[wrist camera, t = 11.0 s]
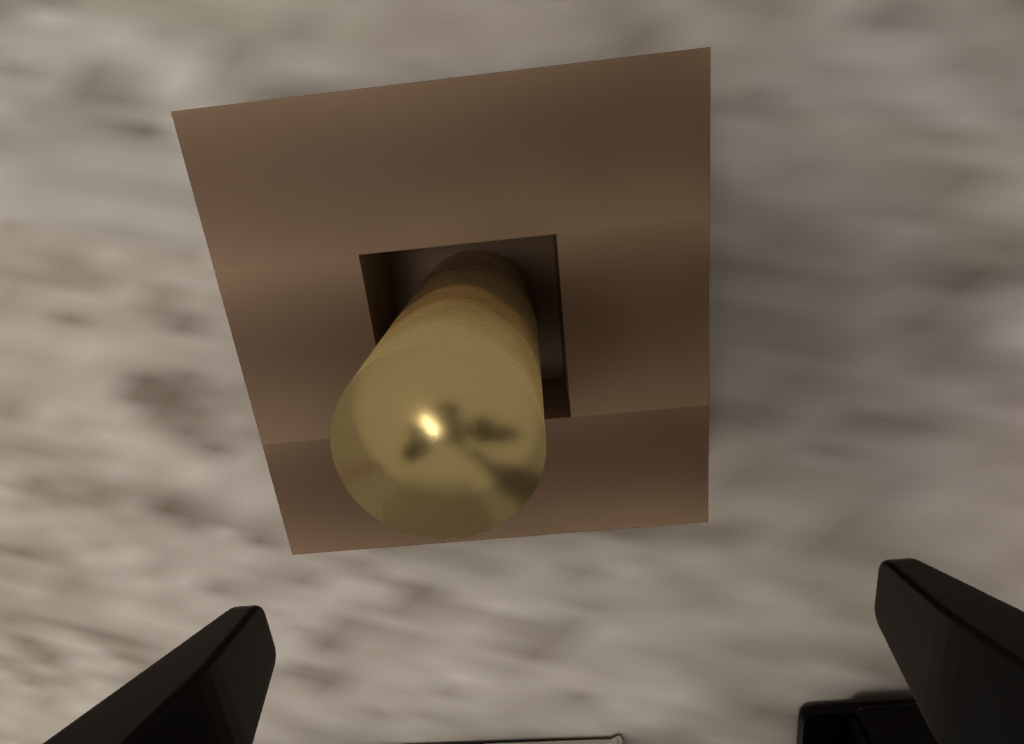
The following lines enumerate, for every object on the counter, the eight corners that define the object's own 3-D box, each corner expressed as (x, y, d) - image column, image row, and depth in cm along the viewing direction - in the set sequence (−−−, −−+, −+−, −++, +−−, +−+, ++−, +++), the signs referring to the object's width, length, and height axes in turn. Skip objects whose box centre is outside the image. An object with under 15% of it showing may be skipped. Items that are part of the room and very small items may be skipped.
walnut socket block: (675, 454, 21) (708, 521, 17) (332, 484, 22) (292, 554, 18) (669, 68, 17) (710, 47, 13) (246, 118, 18) (170, 111, 14)
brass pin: (540, 358, 19) (554, 531, 11) (428, 369, 19) (353, 546, 11) (530, 244, 18) (536, 334, 9) (410, 256, 18) (309, 356, 9)
